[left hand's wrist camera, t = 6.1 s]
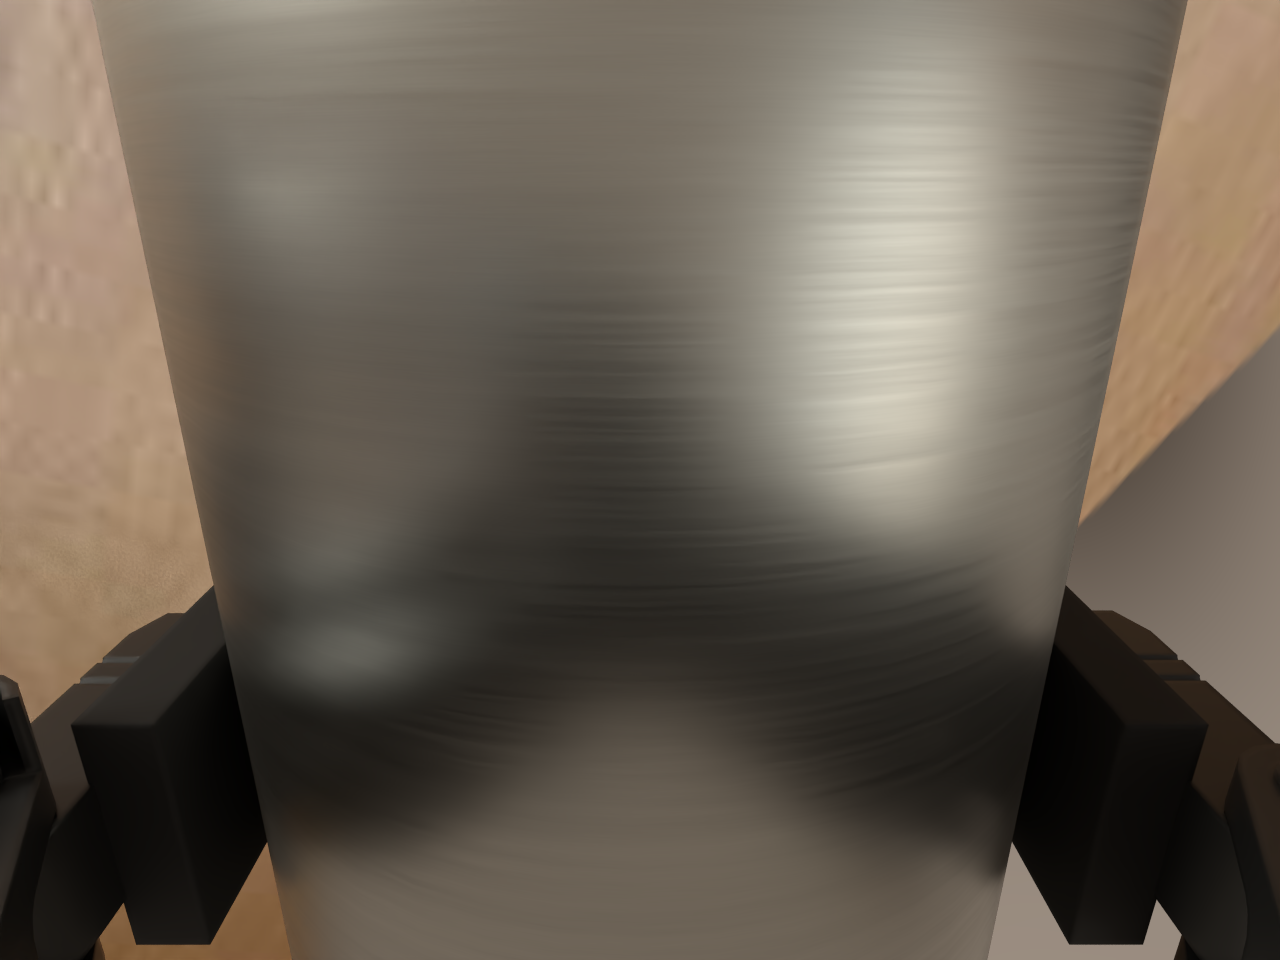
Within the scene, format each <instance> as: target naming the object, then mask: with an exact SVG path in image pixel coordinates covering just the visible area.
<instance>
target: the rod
mask: <svg viewBox="0 0 1280 960" xmlns="http://www.w3.org/2000/svg"><path fill="white" fill-rule="evenodd" d="M91 1H92V6H93V10H94V15H95V20H96V25H97V30H98V34H99V39H100V44H101V49H102V53H103V58H104V63H105V68H106V73H107V77H108V82H109V87H110V92H111V97H112V101H113V106H114V111H115V116H116V120H117V125H118V130H119V135H120V140H121V144H122V149H123V154H124V159H125V163H126V168H127V173H128V178H129V183H130V187H131V192H132V197H133V202H134V206H135V211H136V216H137V221H138V226H139V230H140V235H141V240H142V245H143V250H144V254H145V259H146V264H147V269H148V273H149V278H150V283H151V288H152V293H153V297H154V302H155V307H156V312H157V316H158V321H159V326H160V331H161V336H162V340H163V345H164V350H165V355H166V359H167V364H168V369H169V374H170V379H171V383H172V388H173V393H174V398H175V403H176V407H177V412H178V417H179V422H180V426H181V431H182V436H183V441H184V446H185V450H186V455H187V460H188V465H189V469H190V474H191V479H192V484H193V489H194V493H195V498H196V503H197V508H198V512H199V517H200V522H201V527H202V532H203V536H204V541H205V546H206V551H207V556H208V560H209V565H210V570H211V575H212V579H213V584H214V589H215V594H216V599H217V603H218V608H219V613H220V618H221V622H222V627H223V632H224V637H225V642H226V646H227V651H228V656H229V661H230V665H231V670H232V675H233V680H234V685H235V689H236V694H237V699H238V704H239V709H240V713H241V718H242V723H243V728H244V732H245V737H246V742H247V747H248V752H249V756H250V761H251V766H252V771H253V775H254V780H255V785H256V790H257V795H258V799H259V804H260V809H261V814H262V818H263V823H264V828H265V833H266V838H267V842H268V847H269V852H270V857H271V861H272V866H273V871H274V876H275V881H276V885H277V890H278V895H279V900H280V905H281V909H282V914H283V919H284V924H285V928H286V933H287V938H288V943H289V948H290V952H291V957H292V960H987V958H988V953H989V948H990V943H991V939H992V934H993V929H994V924H995V919H996V915H997V910H998V905H999V900H1000V896H1001V891H1002V886H1003V881H1004V876H1005V872H1006V867H1007V862H1008V857H1009V853H1010V848H1011V843H1012V838H1013V833H1014V829H1015V824H1016V819H1017V814H1018V810H1019V805H1020V800H1021V795H1022V790H1023V786H1024V781H1025V776H1026V771H1027V766H1028V762H1029V757H1030V752H1031V747H1032V743H1033V738H1034V733H1035V728H1036V723H1037V719H1038V714H1039V709H1040V704H1041V699H1042V695H1043V690H1044V685H1045V680H1046V676H1047V671H1048V666H1049V661H1050V656H1051V652H1052V647H1053V642H1054V637H1055V632H1056V628H1057V623H1058V618H1059V613H1060V609H1061V604H1062V599H1063V594H1064V589H1065V585H1066V580H1067V575H1068V570H1069V565H1070V561H1071V556H1072V551H1073V546H1074V542H1075V537H1076V532H1077V527H1078V522H1079V518H1080V513H1081V508H1082V503H1083V498H1084V494H1085V489H1086V484H1087V479H1088V475H1089V470H1090V465H1091V460H1092V455H1093V451H1094V446H1095V441H1096V436H1097V431H1098V427H1099V422H1100V417H1101V412H1102V408H1103V403H1104V398H1105V393H1106V388H1107V384H1108V379H1109V374H1110V369H1111V364H1112V360H1113V355H1114V350H1115V345H1116V341H1117V336H1118V331H1119V326H1120V321H1121V317H1122V312H1123V307H1124V302H1125V297H1126V293H1127V288H1128V283H1129V278H1130V274H1131V269H1132V264H1133V259H1134V254H1135V250H1136V245H1137V240H1138V235H1139V230H1140V226H1141V221H1142V216H1143V211H1144V207H1145V202H1146V197H1147V192H1148V187H1149V183H1150V178H1151V173H1152V168H1153V164H1154V159H1155V154H1156V149H1157V144H1158V140H1159V135H1160V130H1161V125H1162V120H1163V116H1164V111H1165V106H1166V101H1167V97H1168V92H1169V87H1170V82H1171V77H1172V73H1173V68H1174V63H1175V58H1176V53H1177V49H1178V44H1179V39H1180V34H1181V30H1182V25H1183V20H1184V15H1185V10H1186V6H1187V1H1188V0H91Z"/></svg>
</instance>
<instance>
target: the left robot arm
mask: <svg viewBox="0 0 1280 960" xmlns="http://www.w3.org/2000/svg"><path fill="white" fill-rule="evenodd" d="M1012 842H1013V844H1014V846H1015V848H1016V849H1017V851H1018V853H1019V855H1020V857H1021V858H1022V860H1023V862H1024V864H1025V866H1026V867H1027V869H1028V871H1029V873H1030V875H1031V876H1032V878H1033V880H1034V882H1035V884H1036V885H1037V887H1038V889H1039V891H1040V893H1041V895H1042V896H1043V898H1044V900H1045V902H1046V903H1047V905H1048V907H1049V909H1050V911H1051V913H1052V914H1053V916H1054V918H1055V920H1056V922H1057V923H1058V925H1059V927H1060V929H1061V931H1062V932H1063V934H1064V936H1065V938H1066V939H1067V941H1068V943H1069V944H1071V945H1073V944H1074V945H1078V944H1079V945H1081V944H1082V945H1084V944H1085V945H1088V944H1089V945H1097V944H1098V945H1110V944H1111V945H1113V944H1114V945H1124V944H1125V945H1143V943H1144V940H1145V936H1146V933H1147V929H1148V926H1149V923H1150V920H1151V916H1152V913H1153V910H1154V906H1155V903H1156V900H1158V902H1159V903H1160V904H1161V906H1162V907H1163V909H1164V910H1165V912H1166V913H1167V914H1168V916H1169V917H1170V919H1171V920H1172V922H1173V923H1174V924H1175V926H1176V927H1177V929H1178V930H1179V931H1180V933H1181V934H1182V936H1181V939H1180V942H1179V945H1178V948H1177V951H1176V955H1175V958H1174V960H1280V744H1278V743H1274V742H1273V741H1272V740H1271V739H1270V738H1269V737H1268V736H1267V735H1265V734H1264V733H1263V732H1262V731H1261V730H1260V729H1259V728H1258V727H1257V726H1255V725H1254V724H1253V723H1252V722H1251V721H1250V720H1249V719H1248V718H1247V717H1245V716H1244V715H1243V714H1242V713H1241V712H1240V711H1239V710H1238V709H1237V708H1235V707H1234V706H1233V705H1232V704H1231V703H1230V702H1229V701H1228V700H1227V699H1225V698H1224V697H1223V696H1222V695H1221V694H1220V693H1219V692H1218V691H1217V690H1215V689H1214V688H1213V687H1212V686H1211V685H1210V684H1209V683H1208V682H1207V681H1201V680H1200V675H1199V674H1198V673H1197V672H1195V671H1194V670H1193V669H1192V668H1191V667H1190V666H1189V665H1188V664H1187V663H1186V662H1184V661H1183V660H1178V658H1177V654H1176V653H1174V652H1173V651H1172V650H1171V649H1170V648H1169V647H1168V646H1167V645H1165V644H1164V643H1163V642H1162V641H1161V640H1160V639H1159V638H1158V637H1157V636H1156V635H1154V634H1153V633H1152V632H1151V631H1150V630H1148V629H1146V628H1144V627H1142V626H1140V625H1138V624H1136V623H1135V622H1133V621H1131V620H1129V619H1127V618H1125V617H1123V616H1121V615H1120V614H1118V613H1116V612H1114V611H1092V610H1091V609H1090V608H1089V607H1088V606H1087V605H1086V604H1084V603H1083V602H1082V601H1081V600H1080V599H1079V598H1078V597H1077V596H1076V595H1075V594H1074V593H1073V592H1072V591H1071V590H1070V589H1069V588H1068V587H1067V586H1066V585H1065V589H1064V594H1063V599H1062V604H1061V609H1060V613H1059V618H1058V623H1057V628H1056V632H1055V637H1054V642H1053V647H1052V652H1051V656H1050V661H1049V666H1048V671H1047V676H1046V680H1045V685H1044V690H1043V695H1042V699H1041V704H1040V709H1039V714H1038V719H1037V723H1036V728H1035V733H1034V738H1033V743H1032V747H1031V752H1030V757H1029V762H1028V766H1027V771H1026V776H1025V781H1024V786H1023V790H1022V795H1021V800H1020V805H1019V810H1018V814H1017V819H1016V824H1015V829H1014V833H1013V838H1012ZM266 843H267V838H266V833H265V828H264V823H263V818H262V814H261V809H260V804H259V799H258V795H257V790H256V785H255V780H254V775H253V771H252V766H251V761H250V756H249V752H248V747H247V742H246V737H245V732H244V728H243V723H242V718H241V713H240V709H239V704H238V699H237V694H236V689H235V685H234V680H233V675H232V670H231V665H230V661H229V656H228V651H227V646H226V642H225V637H224V632H223V627H222V622H221V618H220V613H219V608H218V603H217V599H216V594H215V589H214V585H213V586H212V587H211V588H210V589H209V590H208V591H207V592H206V593H205V594H204V595H203V596H202V597H201V598H200V599H199V600H198V601H197V602H196V603H195V604H194V605H193V606H192V607H191V608H190V609H189V610H188V611H187V612H186V613H167V614H166V615H164V616H162V617H160V618H158V619H156V620H154V621H153V622H151V623H149V624H147V625H145V626H143V627H141V628H140V629H138V630H136V631H134V632H132V633H130V634H129V635H128V636H127V637H126V638H124V639H123V640H122V641H121V642H120V643H119V644H118V645H117V646H116V647H115V648H113V649H112V650H111V651H110V652H109V653H108V654H107V655H106V656H105V657H104V658H103V662H102V663H97V664H96V665H95V666H94V667H92V668H91V669H90V670H89V671H88V672H87V673H86V674H85V675H84V676H83V677H81V678H80V684H74V685H73V686H72V687H70V688H69V689H68V690H67V691H66V692H65V693H64V694H63V695H62V696H61V697H59V698H58V699H57V700H56V701H55V702H54V703H53V704H52V705H51V706H50V707H48V708H47V709H46V710H45V711H44V712H43V713H42V714H41V715H40V716H38V717H37V718H36V719H35V720H34V721H33V722H32V723H31V724H30V721H29V718H28V715H27V711H26V708H25V705H24V702H23V699H22V696H21V693H20V690H19V687H18V683H16V682H14V681H13V680H11V679H9V678H8V677H6V676H4V675H0V960H105V955H104V951H103V948H102V945H101V942H100V939H99V937H100V935H101V934H102V932H103V931H104V929H105V928H106V927H107V925H108V924H109V922H110V921H111V920H112V918H113V917H114V915H115V914H116V912H117V911H118V910H119V908H120V907H121V905H122V904H123V903H124V905H125V909H126V912H127V915H128V919H129V922H130V925H131V929H132V932H133V935H134V939H135V942H136V945H210V944H211V942H212V940H213V939H214V937H215V935H216V933H217V931H218V930H219V928H220V926H221V924H222V922H223V921H224V919H225V917H226V915H227V913H228V912H229V910H230V908H231V906H232V904H233V903H234V901H235V899H236V897H237V895H238V893H239V892H240V890H241V888H242V886H243V884H244V883H245V881H246V879H247V877H248V875H249V874H250V872H251V870H252V868H253V866H254V865H255V863H256V861H257V859H258V857H259V856H260V854H261V852H262V850H263V848H264V847H265V845H266Z"/></svg>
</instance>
